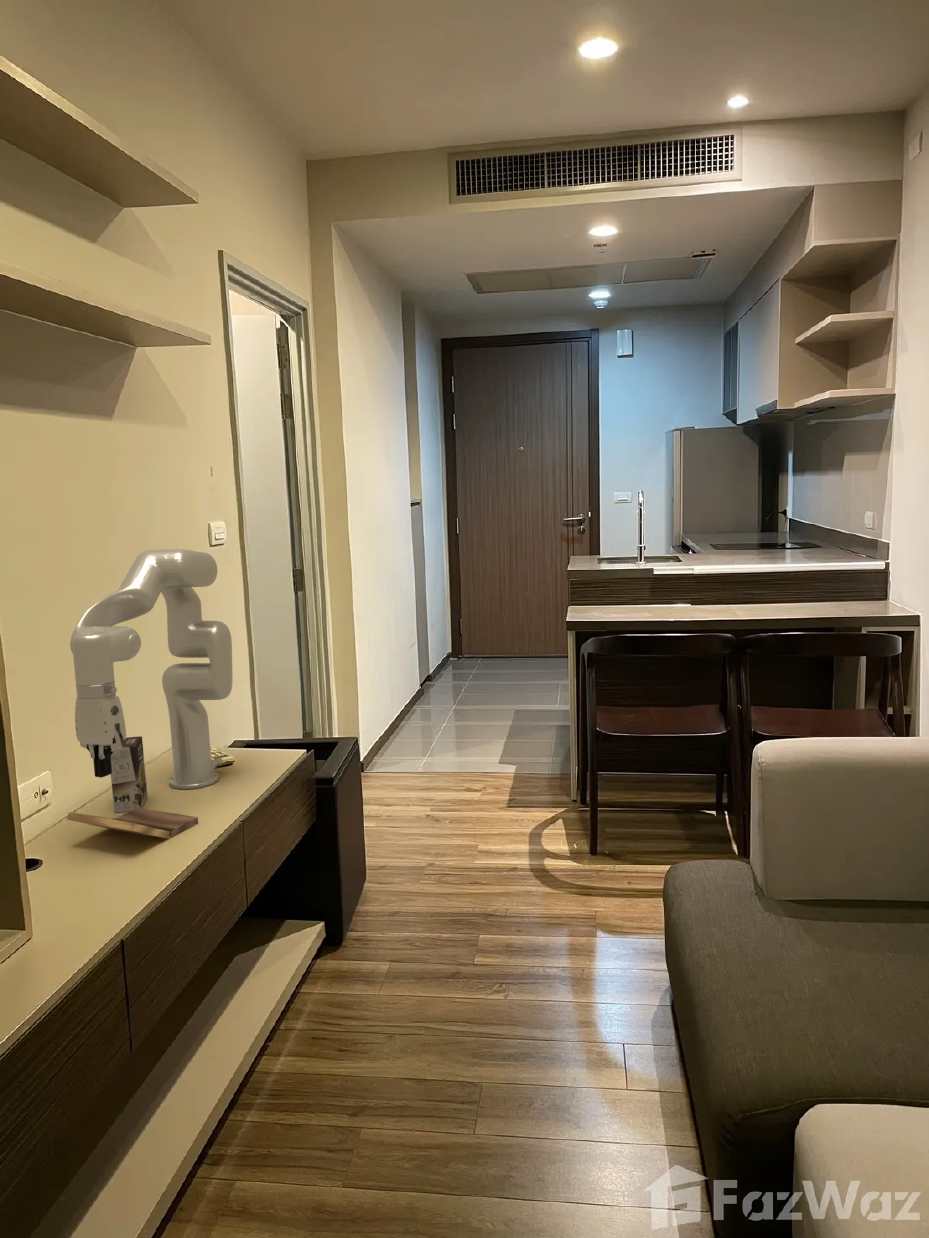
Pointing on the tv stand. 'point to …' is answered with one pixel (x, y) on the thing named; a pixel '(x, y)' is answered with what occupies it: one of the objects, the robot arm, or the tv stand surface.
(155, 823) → the walnut board
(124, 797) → the coffee box
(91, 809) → the tv stand surface
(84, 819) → the oak plank
